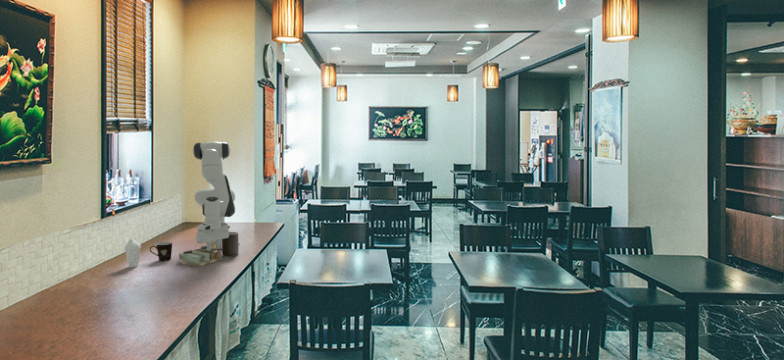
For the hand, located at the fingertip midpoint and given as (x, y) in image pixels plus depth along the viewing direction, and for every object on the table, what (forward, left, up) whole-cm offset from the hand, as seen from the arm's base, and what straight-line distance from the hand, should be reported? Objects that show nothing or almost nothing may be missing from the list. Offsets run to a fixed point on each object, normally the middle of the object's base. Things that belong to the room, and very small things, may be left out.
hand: (213, 248), depth 273 cm
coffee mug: (+14, -29, -8) cm, 33 cm away
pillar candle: (-16, -5, -8) cm, 19 cm away
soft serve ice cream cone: (+32, -29, -8) cm, 44 cm away
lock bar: (0, -5, -2) cm, 5 cm away
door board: (+4, -7, -8) cm, 11 cm away
